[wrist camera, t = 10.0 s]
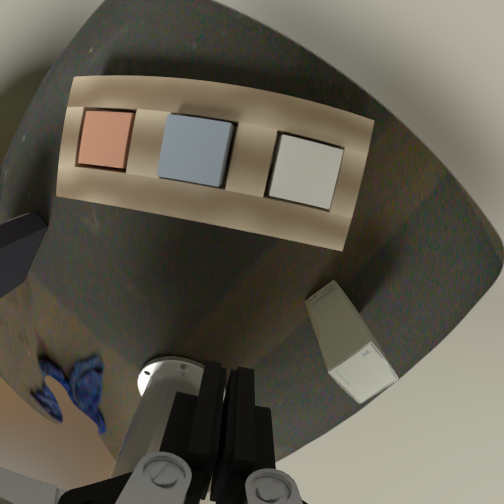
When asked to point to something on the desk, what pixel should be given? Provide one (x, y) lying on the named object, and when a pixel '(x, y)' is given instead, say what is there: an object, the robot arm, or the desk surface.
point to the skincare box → (348, 344)
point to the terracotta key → (106, 138)
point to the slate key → (195, 149)
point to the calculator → (18, 248)
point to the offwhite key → (305, 171)
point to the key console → (238, 162)
